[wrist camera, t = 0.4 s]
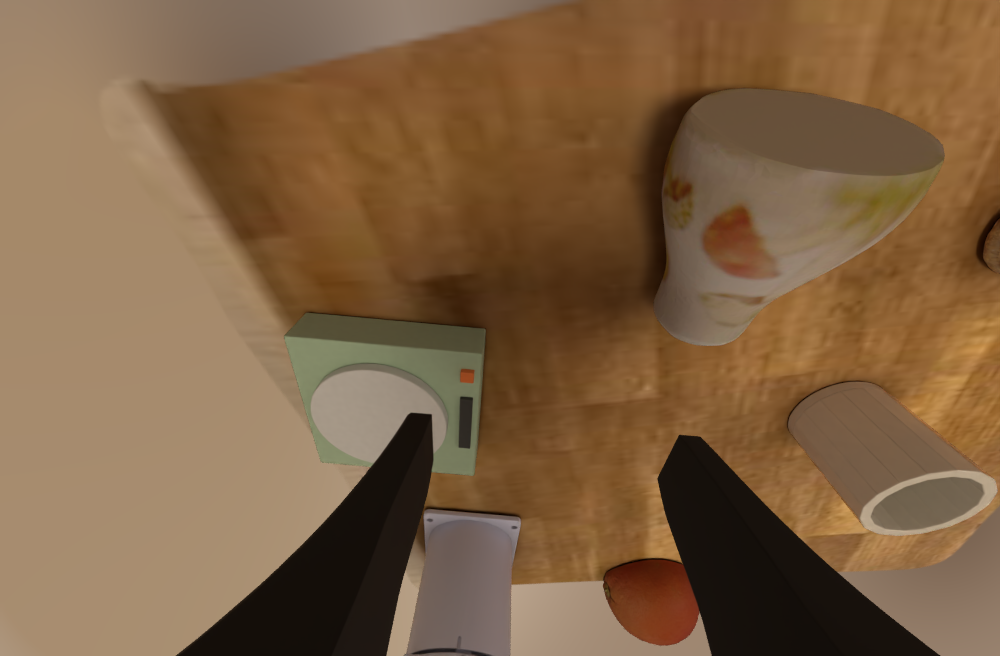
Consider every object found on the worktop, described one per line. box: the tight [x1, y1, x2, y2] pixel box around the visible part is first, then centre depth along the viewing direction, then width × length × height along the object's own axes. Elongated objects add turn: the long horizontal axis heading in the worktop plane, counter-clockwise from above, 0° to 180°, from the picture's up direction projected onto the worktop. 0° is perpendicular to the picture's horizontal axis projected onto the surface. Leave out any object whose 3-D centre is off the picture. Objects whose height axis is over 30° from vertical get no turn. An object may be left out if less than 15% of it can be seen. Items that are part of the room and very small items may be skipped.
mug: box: [654, 88, 945, 346], centre depth 14 cm, size 8×10×10 cm
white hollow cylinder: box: [788, 381, 998, 536], centre depth 20 cm, size 5×5×6 cm
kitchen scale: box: [284, 313, 486, 476], centre depth 22 cm, size 10×10×3 cm
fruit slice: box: [603, 560, 699, 645], centre depth 33 cm, size 8×7×5 cm
